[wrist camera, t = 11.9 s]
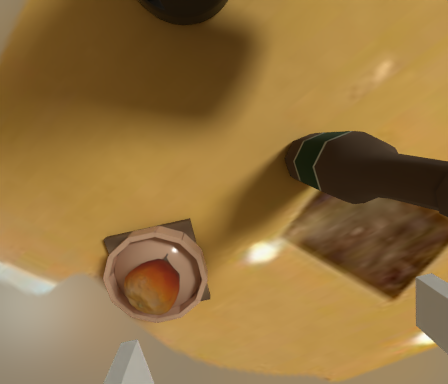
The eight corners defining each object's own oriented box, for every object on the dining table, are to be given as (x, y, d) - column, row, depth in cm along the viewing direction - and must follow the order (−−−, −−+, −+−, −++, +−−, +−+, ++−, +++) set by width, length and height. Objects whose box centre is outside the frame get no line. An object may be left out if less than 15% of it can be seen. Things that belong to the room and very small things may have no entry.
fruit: (201, 275, 36) (174, 323, 30) (172, 283, 40) (144, 326, 34) (168, 238, 34) (132, 281, 28) (142, 250, 39) (106, 290, 32)
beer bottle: (304, 192, 37) (461, 282, 14) (273, 158, 36) (391, 196, 12) (340, 158, 36) (576, 195, 13) (310, 122, 35) (516, 88, 11)
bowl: (98, 239, 36) (89, 246, 33) (193, 217, 36) (192, 223, 34) (128, 318, 40) (123, 330, 37) (215, 299, 40) (215, 309, 37)
